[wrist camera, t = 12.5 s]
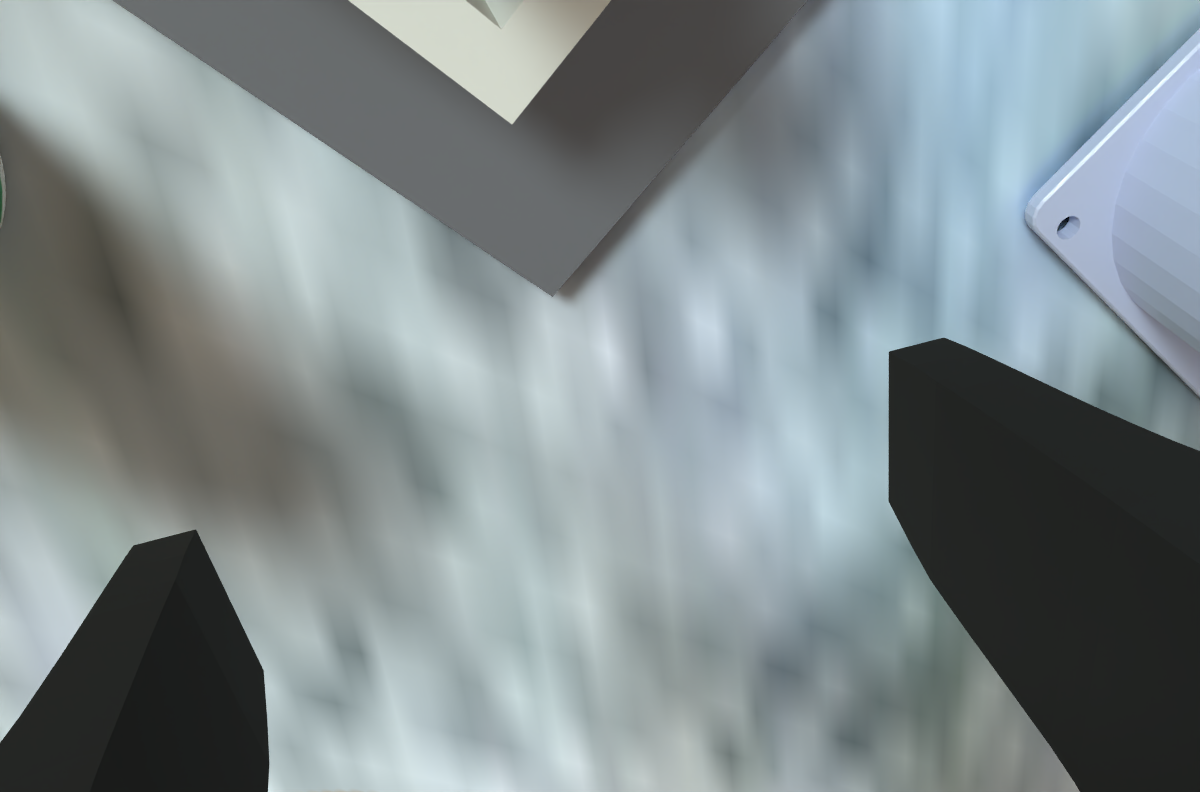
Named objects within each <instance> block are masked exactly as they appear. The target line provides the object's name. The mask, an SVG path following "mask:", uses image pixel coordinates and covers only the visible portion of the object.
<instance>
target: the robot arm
mask: <svg viewBox="0 0 1200 792" xmlns="http://www.w3.org/2000/svg"><path fill="white" fill-rule="evenodd" d="M1067 217H1069V221H1068V223H1067V224H1066V226H1065V227H1064V228H1062V229H1061V230H1059V231H1057V228H1058V226H1059V224H1060V223H1061V221H1062V220H1064V219H1065V218H1067ZM1025 221H1026V222H1027V224H1028V226H1029V227H1030V228H1031V229H1032V230H1033V231H1034V232H1035V233H1036V234H1037V235H1038V236H1039V237H1040V238H1041V239H1042V240H1043V241H1044V242H1045V243H1046V244H1047V245H1048V246H1049V247H1050V248H1051V249H1052V250H1053V251H1054V252H1055V253H1056V254H1057V255H1058V256H1059V257H1060V258H1061V259H1062V260H1063V261H1064V262H1065V263H1066V264H1067V265H1068V266H1069V267H1070V268H1071V269H1072V270H1073V271H1074V272H1075V273H1076V274H1077V275H1078V276H1079V277H1080V278H1081V279H1082V280H1083V281H1084V282H1085V283H1086V284H1087V285H1088V286H1089V287H1090V288H1091V289H1092V290H1093V291H1094V292H1095V293H1096V294H1097V295H1098V296H1099V297H1100V298H1101V299H1102V300H1103V301H1104V302H1105V303H1106V304H1107V305H1108V306H1109V307H1110V308H1111V309H1112V310H1113V311H1114V312H1115V313H1116V314H1117V315H1118V316H1119V317H1120V318H1121V319H1122V320H1123V321H1124V322H1125V323H1126V324H1127V325H1128V326H1129V327H1130V328H1131V329H1132V330H1133V331H1134V332H1135V333H1136V334H1137V335H1138V336H1139V337H1140V338H1141V339H1142V340H1143V341H1144V342H1145V343H1146V344H1147V345H1148V346H1149V347H1150V348H1151V349H1152V350H1153V351H1154V352H1155V353H1156V354H1157V355H1158V356H1159V357H1160V358H1161V359H1162V360H1163V361H1164V362H1165V363H1166V364H1167V365H1168V366H1169V367H1170V368H1171V369H1172V370H1173V371H1174V372H1175V373H1176V374H1177V375H1178V376H1179V377H1180V378H1181V379H1182V380H1183V381H1184V382H1185V383H1186V384H1187V385H1188V386H1189V387H1190V388H1191V389H1192V390H1193V391H1194V392H1195V393H1196V394H1197V395H1198V396H1199V397H1200V29H1199V30H1198V31H1197V32H1196V33H1195V34H1194V35H1193V36H1192V37H1191V38H1190V39H1189V40H1188V41H1187V42H1186V43H1185V44H1184V45H1183V46H1182V47H1181V48H1180V49H1179V50H1178V51H1177V52H1176V53H1175V54H1174V55H1173V56H1172V57H1171V58H1170V59H1169V60H1168V61H1167V62H1166V63H1165V64H1164V65H1163V66H1162V67H1161V68H1160V69H1159V70H1158V71H1157V72H1156V73H1155V74H1154V75H1153V76H1152V77H1151V78H1150V79H1149V80H1148V81H1147V82H1146V83H1145V84H1144V85H1143V86H1142V87H1141V88H1140V89H1139V90H1138V91H1137V92H1136V93H1135V94H1134V95H1133V96H1132V97H1131V98H1130V99H1129V100H1128V101H1127V102H1126V103H1125V104H1124V105H1123V106H1122V107H1121V108H1120V109H1119V110H1118V111H1117V112H1116V113H1115V114H1114V115H1113V116H1112V117H1111V118H1110V119H1109V120H1108V121H1107V122H1106V123H1105V124H1104V125H1103V126H1102V127H1101V128H1100V129H1099V130H1098V131H1097V132H1096V133H1095V134H1094V135H1093V136H1092V137H1091V138H1090V139H1089V140H1088V141H1087V142H1086V143H1085V144H1084V145H1083V146H1082V147H1081V148H1080V149H1079V150H1078V151H1077V152H1076V153H1075V154H1074V155H1073V156H1072V157H1071V158H1070V159H1069V160H1068V161H1067V162H1066V163H1065V164H1064V165H1063V166H1062V167H1061V168H1060V169H1059V170H1058V171H1057V172H1056V173H1055V174H1054V175H1053V176H1052V177H1051V178H1050V179H1049V180H1048V181H1047V182H1046V183H1045V184H1044V185H1043V186H1042V187H1041V188H1040V189H1039V190H1038V191H1037V192H1036V193H1035V194H1034V195H1033V197H1032V198H1031V199H1030V201H1029V202H1028V204H1027V207H1026V210H1025ZM889 503H890V505H891V507H892V509H893V511H894V513H895V515H896V516H897V518H898V520H899V522H900V524H901V526H902V528H903V530H904V532H905V534H906V536H907V538H908V540H909V542H910V544H911V546H912V547H913V549H914V551H915V553H916V555H917V556H918V558H919V560H920V562H921V564H922V565H923V567H924V569H925V571H926V573H927V575H928V576H929V578H930V580H931V581H932V583H933V584H934V585H935V587H936V588H937V590H938V591H939V593H940V594H941V596H942V597H943V598H944V600H945V601H946V603H947V604H948V605H949V607H950V608H951V610H952V611H953V612H954V614H955V615H956V617H957V618H958V619H959V621H960V622H961V624H962V625H963V626H964V628H965V629H966V631H967V632H968V633H969V635H970V636H971V638H972V639H973V640H974V642H975V643H976V644H977V646H978V647H979V649H980V650H981V651H982V653H983V654H984V655H985V657H986V658H987V660H988V661H989V662H990V664H991V665H992V666H993V668H994V669H995V671H996V672H997V673H998V675H999V676H1000V677H1001V679H1002V680H1003V682H1004V683H1005V684H1006V686H1007V687H1008V688H1009V690H1010V691H1011V693H1012V694H1013V695H1014V697H1015V698H1016V699H1017V701H1018V702H1019V704H1020V705H1021V706H1022V708H1023V709H1024V710H1025V712H1026V713H1027V715H1028V716H1029V717H1030V719H1031V720H1032V721H1033V723H1034V724H1035V726H1036V727H1037V728H1038V730H1039V731H1040V732H1041V734H1042V735H1043V737H1044V738H1045V739H1046V741H1047V742H1048V743H1049V745H1050V746H1051V748H1052V749H1053V751H1054V752H1055V754H1056V755H1057V757H1058V758H1059V760H1060V761H1061V763H1062V764H1063V766H1064V767H1065V769H1066V770H1067V772H1068V773H1069V775H1070V776H1071V778H1072V779H1073V781H1074V782H1075V784H1076V786H1077V787H1078V789H1079V791H1080V792H1200V451H1198V450H1195V449H1193V448H1190V447H1188V446H1185V445H1183V444H1180V443H1177V442H1175V441H1172V440H1170V439H1168V438H1165V437H1163V436H1161V435H1158V434H1156V433H1153V432H1151V431H1149V430H1146V429H1144V428H1142V427H1139V426H1137V425H1135V424H1132V423H1130V422H1128V421H1126V420H1123V419H1121V418H1119V417H1117V416H1114V415H1112V414H1110V413H1108V412H1105V411H1103V410H1101V409H1099V408H1097V407H1094V406H1092V405H1090V404H1088V403H1086V402H1083V401H1081V400H1079V399H1077V398H1075V397H1073V396H1071V395H1068V394H1066V393H1064V392H1062V391H1060V390H1058V389H1056V388H1053V387H1051V386H1049V385H1047V384H1045V383H1043V382H1041V381H1039V380H1037V379H1034V378H1032V377H1030V376H1028V375H1026V374H1024V373H1022V372H1020V371H1017V370H1015V369H1013V368H1011V367H1009V366H1007V365H1005V364H1003V363H1001V362H998V361H996V360H994V359H992V358H990V357H988V356H986V355H983V354H981V353H979V352H977V351H975V350H972V349H970V348H968V347H966V346H963V345H961V344H958V343H956V342H954V341H951V340H949V339H946V338H940V339H936V340H933V341H929V342H925V343H921V344H917V345H913V346H909V347H905V348H901V349H897V350H894V351H890V352H889ZM268 777H269V748H268V727H267V712H266V698H265V684H264V671H263V669H262V666H261V664H260V662H259V660H258V658H257V656H256V654H255V652H254V650H253V648H252V646H251V643H250V641H249V639H248V637H247V635H246V633H245V631H244V629H243V627H242V625H241V623H240V620H239V618H238V616H237V614H236V612H235V610H234V608H233V606H232V604H231V602H230V600H229V597H228V595H227V593H226V591H225V589H224V587H223V585H222V583H221V581H220V579H219V577H218V574H217V572H216V570H215V568H214V566H213V564H212V562H211V560H210V558H209V556H208V554H207V551H206V549H205V547H204V545H203V543H202V541H201V539H200V537H199V535H198V533H197V531H196V530H192V531H188V532H184V533H180V534H177V535H173V536H169V537H165V538H161V539H157V540H153V541H149V542H145V543H141V544H138V545H134V546H133V547H132V548H131V550H130V551H129V553H128V554H127V556H126V557H125V559H124V560H123V561H122V563H121V564H120V566H119V567H118V569H117V571H116V572H115V574H114V575H113V577H112V578H111V580H110V581H109V583H108V584H107V586H106V587H105V589H104V591H103V592H102V594H101V595H100V597H99V598H98V600H97V601H96V603H95V604H94V606H93V607H92V609H91V610H90V612H89V614H88V615H87V617H86V618H85V620H84V621H83V623H82V624H81V626H80V627H79V629H78V630H77V632H76V634H75V635H74V637H73V638H72V640H71V641H70V643H69V644H68V646H67V647H66V649H65V650H64V652H63V653H62V655H61V657H60V658H59V660H58V661H57V662H56V664H55V665H54V667H53V668H52V670H51V671H50V673H49V674H48V676H47V677H46V679H45V680H44V682H43V683H42V685H41V686H40V688H39V689H38V691H37V692H36V693H35V695H34V696H33V698H32V699H31V701H30V702H29V704H28V705H27V707H26V708H25V710H24V711H23V713H22V714H21V716H20V717H19V718H18V720H17V721H16V722H15V724H14V725H13V726H12V728H11V729H10V730H9V732H8V733H7V734H6V736H5V737H4V739H3V740H2V741H1V743H0V792H268Z"/></svg>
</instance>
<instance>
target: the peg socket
mask: <svg viewBox="0 0 1200 792" xmlns="http://www.w3.org/2000/svg"><path fill="white" fill-rule="evenodd" d="M113 1H114V2H116V3H117V4H119V5H120V6H122V7H123V8H125V9H126V10H128V11H129V12H131V13H132V14H134V15H135V16H137V17H138V18H140V19H141V20H143V21H144V22H146V23H147V24H149V25H150V26H152V27H153V28H155V29H156V30H157V31H159V32H160V33H162V34H163V35H165V36H166V37H168V38H169V39H171V40H172V41H174V42H175V43H177V44H178V45H180V46H181V47H183V48H184V49H186V50H187V51H189V52H190V53H192V54H193V55H195V56H196V57H198V58H199V59H200V60H202V61H203V62H205V63H206V64H208V65H209V66H211V67H212V68H214V69H215V70H217V71H218V72H220V73H221V74H223V75H224V76H226V77H227V78H229V79H230V80H232V81H233V82H235V83H236V84H238V85H239V86H241V87H242V88H244V89H245V90H246V91H248V92H249V93H251V94H252V95H254V96H255V97H257V98H258V99H260V100H261V101H263V102H264V103H266V104H267V105H269V106H270V107H272V108H273V109H275V110H276V111H278V112H279V113H281V114H282V115H284V116H285V117H287V118H288V119H289V120H291V121H292V122H294V123H295V124H297V125H298V126H300V127H301V128H303V129H304V130H306V131H307V132H309V133H310V134H312V135H313V136H315V137H316V138H318V139H319V140H321V141H322V142H324V143H325V144H327V145H328V146H330V147H331V148H333V149H334V150H335V151H337V152H338V153H340V154H341V155H343V156H344V157H346V158H347V159H349V160H350V161H352V162H353V163H355V164H356V165H358V166H359V167H361V168H362V169H364V170H365V171H367V172H368V173H370V174H371V175H373V176H374V177H376V178H377V179H378V180H380V181H381V182H383V183H384V184H386V185H387V186H389V187H390V188H392V189H393V190H395V191H396V192H398V193H399V194H401V195H402V196H404V197H405V198H407V199H408V200H410V201H411V202H413V203H414V204H416V205H417V206H419V207H420V208H422V209H423V210H424V211H426V212H427V213H429V214H430V215H432V216H433V217H435V218H436V219H438V220H439V221H441V222H442V223H444V224H445V225H447V226H448V227H450V228H451V229H453V230H454V231H456V232H457V233H459V234H460V235H462V236H463V237H465V238H466V239H467V240H469V241H470V242H472V243H473V244H475V245H476V246H478V247H479V248H481V249H482V250H484V251H485V252H487V253H488V254H490V255H491V256H493V257H494V258H496V259H497V260H499V261H500V262H502V263H503V264H505V265H506V266H508V267H509V268H511V269H512V270H513V271H515V272H516V273H518V274H519V275H521V276H522V277H524V278H525V279H527V280H528V281H530V282H531V283H533V284H534V285H536V286H537V287H539V288H540V289H542V290H543V291H545V292H546V293H548V294H549V295H551V296H552V297H553V296H554V295H555V293H556V292H557V291H558V290H559V289H560V288H561V286H562V285H563V284H564V283H565V282H566V281H567V279H568V278H569V277H570V276H571V275H572V274H573V272H574V271H575V270H576V269H577V268H578V267H579V266H580V264H581V263H582V262H583V261H584V260H585V259H586V257H587V256H588V255H589V254H590V253H591V252H592V250H593V249H594V248H595V247H596V246H597V245H598V243H599V242H600V241H601V240H602V239H603V238H604V236H605V235H606V234H607V233H608V232H609V231H610V230H611V228H612V227H613V226H614V225H615V224H616V223H617V221H618V220H619V219H620V218H621V217H622V216H623V214H624V213H625V212H626V211H627V210H628V209H629V207H630V206H631V205H632V204H633V203H634V202H635V200H636V199H637V198H638V197H639V196H640V195H641V193H642V192H643V191H644V190H645V189H646V188H647V187H648V185H649V184H650V183H651V182H652V181H653V180H654V178H655V177H656V176H657V175H658V174H659V173H660V171H661V170H662V169H663V168H664V167H665V166H666V164H667V163H668V162H669V161H670V160H671V159H672V157H673V156H674V155H675V154H676V153H677V152H678V150H679V149H680V148H681V147H682V146H683V145H684V144H685V142H686V141H687V140H688V139H689V138H690V137H691V135H692V134H693V133H694V132H695V131H696V130H697V128H698V127H699V126H700V125H701V124H702V123H703V121H704V120H705V119H706V118H707V117H708V116H709V114H710V113H711V112H712V111H713V110H714V109H715V108H716V106H717V105H718V104H719V103H720V102H721V101H722V99H723V98H724V97H725V96H726V95H727V94H728V92H729V91H730V90H731V89H732V88H733V87H734V85H735V84H736V83H737V82H738V81H739V80H740V78H741V77H742V76H743V75H744V74H745V73H746V71H747V70H748V69H749V68H750V67H751V66H752V65H753V63H754V62H755V61H756V60H757V59H758V58H759V56H760V55H761V54H762V53H763V52H764V51H765V49H766V48H767V47H768V46H769V45H770V44H771V42H772V41H773V40H774V39H775V38H776V37H777V35H778V34H779V33H780V32H781V31H782V30H783V28H784V27H785V26H786V25H787V24H788V23H789V22H790V20H791V19H792V18H793V17H794V16H795V15H796V13H797V12H798V11H799V10H800V9H801V8H802V6H803V5H804V4H805V3H806V2H807V1H808V0H113Z"/></svg>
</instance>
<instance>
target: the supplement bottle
mask: <svg viewBox="0 0 1200 792" xmlns="http://www.w3.org/2000/svg"><path fill="white" fill-rule="evenodd" d="M5 206H6V185H5V174H4V168H3V163H2V159H1V155H0V228H1V225H2V222H3V217H4V211H5Z"/></svg>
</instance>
